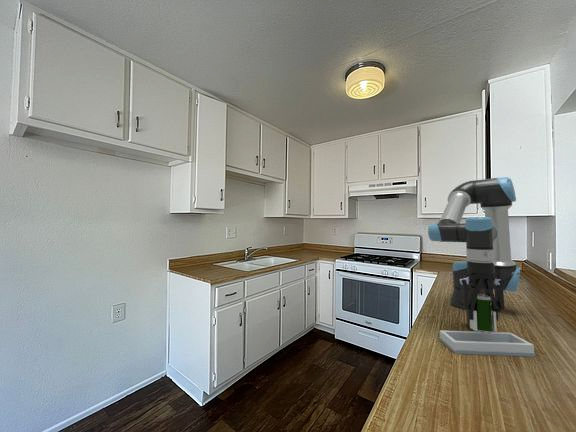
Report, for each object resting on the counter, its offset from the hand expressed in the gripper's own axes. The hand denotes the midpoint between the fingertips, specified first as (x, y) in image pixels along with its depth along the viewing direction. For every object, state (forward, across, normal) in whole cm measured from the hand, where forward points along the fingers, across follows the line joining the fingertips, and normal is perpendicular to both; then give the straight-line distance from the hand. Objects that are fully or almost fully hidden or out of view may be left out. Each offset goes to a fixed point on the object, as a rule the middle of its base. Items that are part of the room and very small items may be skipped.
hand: (483, 329), depth 85 cm
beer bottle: (+6, +9, +17) cm, 20 cm away
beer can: (0, 0, 0) cm, 0 cm away
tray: (+6, 0, 0) cm, 6 cm away
